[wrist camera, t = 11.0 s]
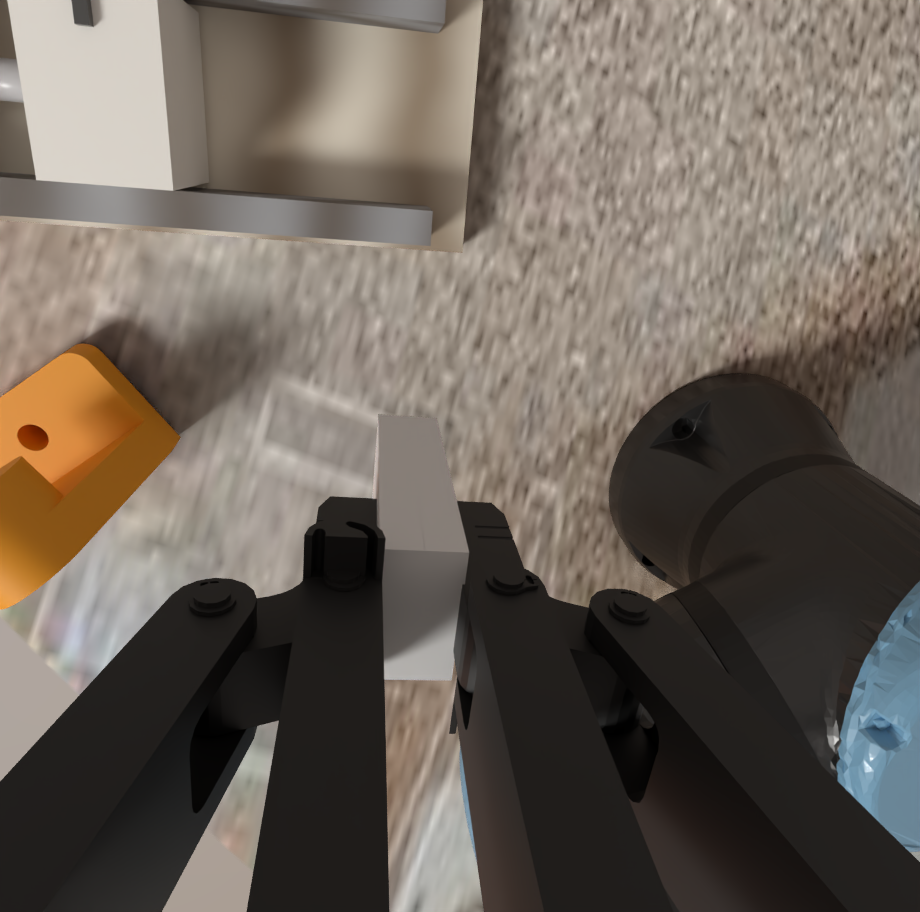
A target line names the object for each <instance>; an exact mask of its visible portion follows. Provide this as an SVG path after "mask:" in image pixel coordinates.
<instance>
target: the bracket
mask: <svg viewBox="0 0 920 912" xmlns="http://www.w3.org/2000/svg"><path fill="white" fill-rule="evenodd" d="M180 438H181V437H180V436H179V435H178V434H177V433H176V432H175V431H174V430H173V429H172V427H171V426H170V425H169V424H168V423H167V422H166V421H165V420H164V419H163V418H162V417H161V416H160V414H159V413H158V412H157V411H156V410H155V409H154V408H153V407H152V406H151V405H150V404H149V403H148V402H147V400H146V399H145V398H144V397H143V396H142V395H141V394H140V393H139V392H138V391H137V390H136V389H135V387H134V386H133V385H132V384H131V383H130V382H129V381H128V380H127V379H126V378H125V377H124V376H123V374H122V373H121V372H120V371H119V370H118V369H117V368H116V367H115V366H114V365H113V364H112V363H111V361H110V360H109V359H108V358H107V357H106V356H105V355H104V354H103V353H102V352H101V351H100V350H99V349H98V348H96V347H95V346H93V345H90V344H77V345H75V346H73V347H71V348H70V349H69V350H67V351H66V352H64V353H63V354H61V355H60V356H58V357H57V358H56V359H54V360H53V361H51V362H50V363H48V364H47V365H46V366H44V367H43V368H41V369H40V370H39V371H37V372H36V373H34V374H33V375H31V376H30V377H29V378H27V379H26V380H24V381H23V382H22V383H20V384H19V385H17V386H16V387H15V388H13V389H12V390H10V391H9V392H7V393H6V394H5V395H3V396H2V397H0V609H5V608H8V607H10V606H12V605H14V604H16V603H18V602H19V601H21V600H22V599H24V598H25V597H27V596H28V595H30V594H31V593H33V592H34V591H35V590H37V589H38V588H39V587H41V586H42V585H43V584H44V583H46V582H47V581H48V580H49V579H51V578H52V577H53V576H54V575H55V574H56V573H58V572H59V571H60V570H61V569H62V568H63V567H64V566H65V565H66V564H67V563H69V562H70V561H71V560H72V559H73V558H74V557H75V556H76V555H77V554H78V553H79V552H80V550H81V549H82V548H83V547H84V546H85V545H86V544H87V543H88V542H89V541H90V540H91V539H92V537H93V536H94V535H95V534H96V533H97V532H98V531H99V530H100V529H101V528H102V527H103V525H104V524H105V523H106V522H107V521H108V520H109V519H110V518H111V517H112V516H113V515H114V513H115V512H116V511H117V510H118V509H119V508H120V507H121V506H122V505H123V504H124V503H125V501H126V500H127V499H128V498H129V497H130V496H131V495H132V494H133V493H134V492H135V491H136V489H137V488H138V487H139V486H140V485H141V484H142V483H143V482H144V481H145V480H146V479H147V477H148V476H149V475H150V474H151V473H152V472H153V471H154V470H155V469H156V468H157V467H158V465H159V464H160V463H161V462H162V461H163V460H164V459H165V458H166V457H167V456H168V455H169V454H170V452H171V451H172V450H173V449H174V447H175V445H176V444H177V442H178V441H179V439H180Z"/></svg>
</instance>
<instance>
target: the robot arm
mask: <svg viewBox="0 0 920 912" xmlns="http://www.w3.org/2000/svg"><path fill="white" fill-rule="evenodd" d="M609 505H610V511H611V516H612V519H613V522H614V525H615V528H616V530H617V532H618V534H619V535H620V537H621V538H622V540H623V542H624V543H625V545H626V546H627V548H628V549H629V551H630V552H631V554H632V555H633V556H634V558H635V559H636V560H637V561H638V562H639V563H640V564H641V565H642V566H643V567H644V568H645V569H646V570H647V571H649V572H650V573H651V574H653V575H654V576H656V577H658V578H659V579H661V580H663V581H665V582H666V583H668V584H669V585H671V586H673V587H675V588H676V589H678V590H677V591H675V592H673V593H669V594H667V595H665V596H663V597H661V598H659V599H657V600H655V601H653V600H651V599H650V598H648V597H646V596H643V595H641V594H639V593H637V592H634V591H631V590H629V591H628V590H626V589H606V590H602V591H599V592H597V593H596V594H595V595H594V596H592V597H591V600H590V604H589V608H587V607H583V606H579V605H574V604H570V603H566V602H563V601H559V600H556V599H554V598H552V597H549V596H548V593H547V591H546V588H545V586H544V584H543V583H542V581H541V580H540V579H539V577H537V576H536V575H534V574H533V573H532V572H530V571H529V570H526V569H524V567H523V564H522V561H521V559H520V556H519V553H518V550H517V548H516V545H515V542H514V540H513V537H512V534H511V531H510V529H509V526H508V523H507V520H506V518H505V515H504V514H503V513H502V512H501V511H500V510H499V509H498V508H496V507H495V506H494V505H493V504H492V503H483V502H463V501H457V500H456V496H455V491H454V487H453V483H452V479H451V475H450V471H449V467H448V462H447V458H446V454H445V450H444V446H443V442H442V437H441V433H440V429H439V425H438V421H437V418H427V417H412V416H398V415H383V414H378V426H377V440H376V454H375V468H374V482H373V496H372V499H370V498H350V497H331V496H330V497H329V498H328V499H327V500H326V501H325V502H324V503H323V504H322V505H321V506H320V507H319V509H318V515H317V522H316V524H314V525H312V526H311V527H309V528H308V530H307V532H306V533H305V535H304V569H303V581H302V582H301V583H300V584H299V585H297V586H296V587H294V588H293V589H291V590H289V591H286V592H284V593H281V594H277V595H273V596H269V597H263V598H256V595H255V592H254V590H253V589H251V588H250V587H249V586H248V585H246V584H245V583H242V582H239V581H236V580H233V579H222V578H212V579H205V580H199V581H196V582H193V583H191V584H188V585H186V586H183V587H182V588H180V589H179V590H178V591H176V592H175V593H174V594H172V595H171V596H170V597H169V598H168V600H167V601H166V602H165V603H164V604H163V605H162V606H161V607H160V608H159V609H158V610H157V612H156V613H155V614H154V615H153V616H152V617H151V618H150V619H149V620H148V621H147V622H146V624H145V625H144V626H143V627H142V628H141V629H140V630H139V631H138V632H137V633H136V634H135V635H134V637H133V638H132V639H131V640H130V641H129V642H128V643H127V644H126V645H125V646H124V647H123V649H122V650H121V651H120V652H119V653H118V654H117V655H116V656H115V657H114V658H113V659H112V661H111V662H110V663H109V664H108V665H107V666H106V667H105V668H104V669H103V670H102V671H101V672H100V674H99V675H98V676H97V677H96V678H95V679H94V680H93V681H92V682H91V683H90V684H89V686H88V687H87V688H86V689H85V690H84V691H83V692H82V693H81V694H80V695H79V696H78V698H77V699H76V700H75V701H74V702H73V703H72V704H71V705H70V706H69V707H68V709H66V711H65V712H64V713H63V714H62V715H61V716H60V717H59V718H58V719H57V720H56V721H55V723H54V724H53V725H52V726H51V727H50V728H49V729H48V730H47V731H46V733H44V735H43V736H42V737H41V738H40V739H39V740H38V741H37V742H36V743H35V744H34V745H33V747H32V748H31V749H30V750H29V751H28V752H27V753H26V754H25V755H24V756H23V757H22V759H21V760H20V761H19V762H18V763H17V764H16V765H15V766H14V767H13V768H12V769H11V771H10V772H9V773H8V774H7V775H6V776H5V777H4V778H3V779H2V780H1V781H0V912H162V910H163V908H164V906H165V904H166V902H167V901H168V899H169V897H170V895H171V893H172V891H173V889H174V887H175V886H176V884H177V882H178V880H179V878H180V876H181V874H182V872H183V870H184V869H185V867H186V865H187V863H188V861H189V859H190V857H191V855H192V854H193V852H194V850H195V848H196V846H197V844H198V842H199V841H200V838H201V837H202V835H203V833H204V831H205V829H206V827H207V826H208V824H209V822H210V820H211V818H212V816H213V814H214V812H215V811H216V809H217V807H218V805H219V803H220V801H221V799H222V797H223V795H224V794H225V792H226V790H227V788H228V786H229V784H230V782H231V780H232V779H233V777H234V775H235V773H236V771H237V769H238V767H239V765H240V764H241V762H242V760H243V758H244V756H245V754H246V752H247V750H248V749H249V747H250V745H251V743H252V741H253V739H254V736H255V733H256V729H257V726H258V725H262V724H266V723H270V722H274V721H278V720H279V724H278V730H277V736H276V741H275V747H274V753H273V759H272V765H271V771H270V777H269V783H268V789H267V795H266V800H265V806H264V812H263V818H262V824H261V830H260V836H259V842H258V848H257V854H256V859H255V865H254V871H253V877H252V883H251V889H250V895H249V901H248V907H247V912H389V880H388V832H387V784H386V737H385V689H384V680H452V673H453V666H454V659H455V665H456V671H457V682H456V689H455V696H454V703H453V710H452V717H451V724H450V732H449V734H455V733H456V728H457V725H458V732H459V739H460V775H461V786H462V794H463V801H464V807H465V813H466V818H467V823H468V828H469V832H470V837H471V841H472V845H473V849H474V853H475V857H476V860H477V865H478V872H479V879H480V887H481V894H482V901H483V908H484V912H920V862H919V861H918V860H917V859H916V858H915V857H914V856H913V855H912V854H911V853H910V852H918V851H920V505H918V504H916V503H915V502H913V501H912V500H910V499H909V498H907V497H905V496H904V495H902V494H901V493H899V492H898V491H896V490H894V489H893V488H891V487H890V486H888V485H886V484H885V483H883V482H882V481H880V480H879V479H877V478H875V477H874V476H872V475H871V474H869V473H868V472H866V471H865V470H863V469H862V468H860V467H858V466H857V465H856V464H855V463H854V461H853V460H852V458H851V457H850V455H849V454H848V452H847V451H846V449H845V448H844V446H843V445H842V443H841V442H840V440H839V439H838V436H837V434H836V432H835V430H834V428H833V426H832V424H831V423H830V421H829V420H828V418H827V417H826V415H825V414H824V413H823V412H822V411H821V410H820V409H819V408H818V407H817V406H816V405H815V404H814V403H813V402H812V401H810V400H809V399H808V398H806V397H805V396H803V395H802V394H800V393H798V392H796V391H795V390H793V389H791V388H789V387H788V386H786V385H784V384H782V383H780V382H778V381H776V380H773V379H770V378H767V377H764V376H759V375H753V374H726V375H719V376H715V377H710V378H707V379H703V380H700V381H698V382H695V383H692V384H690V385H688V386H685V387H684V388H682V389H680V390H678V391H676V392H674V393H673V394H671V395H669V396H668V397H667V398H665V399H664V400H662V401H661V402H660V403H658V404H657V405H656V406H655V407H654V408H652V409H651V410H650V411H649V412H648V413H647V414H646V415H645V416H644V417H643V418H642V419H641V420H640V421H639V423H638V424H637V425H636V426H635V427H634V429H633V430H632V431H631V433H630V434H629V436H628V437H627V439H626V440H625V442H624V444H623V446H622V447H621V449H620V452H619V454H618V456H617V458H616V461H615V464H614V467H613V470H612V474H611V479H610V486H609Z"/></svg>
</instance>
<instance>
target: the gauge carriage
mask: <svg viewBox="0 0 920 912" xmlns="http://www.w3.org/2000/svg"><path fill="white" fill-rule="evenodd" d="M7 2H8V8H9V14H10V20H11V26H12V33H13V39H14V45H15V51H16V57H17V59H9V58H0V101H11V102H21V103H24V107H25V113H26V119H27V126H28V132H29V138H30V144H31V151H32V157H33V163H34V169H35V175H36V180H42V181H54V182H67V183H80V184H93V185H105V186H118V187H131V188H144V189H156V190H169V191H175V190H179V189H183V188H187V187H192V186H196V185H200V184H204V183H209V169H208V154H207V138H206V122H205V106H204V91H203V75H202V59H201V44H200V28H199V13H198V12H197V11H196V10H195V9H193V8H192V7H191V6H190V5H188V4H187V3H186V2H184V1H183V0H7Z"/></svg>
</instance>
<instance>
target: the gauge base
mask: <svg viewBox="0 0 920 912" xmlns="http://www.w3.org/2000/svg"><path fill="white" fill-rule="evenodd" d="M183 1H184V2H186V3H187V4H188V5H190V6H191V7H192V8H193V9H195V10H196V11H197V12H198V13H199V28H200V44H201V59H202V75H203V91H204V106H205V122H206V138H207V154H208V169H209V183H204V184H200V185H196V186H192V187H187V188H183V189H179V190H175V191H169V190H156V189H144V188H131V187H118V186H105V185H93V184H80V183H67V182H54V181H42V180H36V175H35V169H34V163H33V157H32V151H31V144H30V138H29V132H28V126H27V119H26V113H25V107H24V103H21V102H11V101H0V221H13V222H28V223H42V224H56V225H71V226H85V227H99V228H114V229H128V230H142V231H157V232H171V233H185V234H200V235H214V236H228V237H243V238H257V239H272V240H286V241H300V242H315V243H329V244H343V245H358V246H372V247H386V248H401V249H415V250H429V251H444V252H458V253H462V251H463V238H464V226H465V214H466V202H467V190H468V178H469V165H470V153H471V141H472V129H473V117H474V105H475V93H476V80H477V68H478V56H479V44H480V32H481V20H482V7H483V0H183ZM0 58H9V59H17V57H16V51H15V45H14V39H13V33H12V26H11V20H10V14H9V8H8V2H7V0H0Z"/></svg>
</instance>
